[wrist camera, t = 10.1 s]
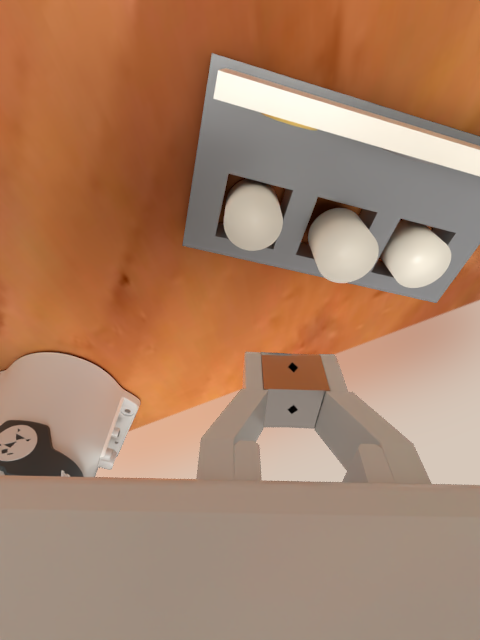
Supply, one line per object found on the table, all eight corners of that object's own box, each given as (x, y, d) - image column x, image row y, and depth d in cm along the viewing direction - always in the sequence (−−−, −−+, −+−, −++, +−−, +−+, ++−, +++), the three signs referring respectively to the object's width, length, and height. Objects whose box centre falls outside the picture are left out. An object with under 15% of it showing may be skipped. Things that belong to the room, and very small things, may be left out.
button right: (411, 269, 32) (430, 292, 28) (368, 259, 31) (383, 281, 28) (438, 226, 29) (463, 246, 26) (393, 214, 28) (412, 232, 25)
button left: (269, 235, 30) (272, 256, 26) (220, 224, 29) (218, 243, 26) (285, 185, 27) (291, 201, 24) (232, 171, 26) (230, 186, 23)
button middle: (348, 263, 29) (361, 288, 26) (300, 252, 28) (307, 276, 25) (372, 215, 26) (390, 236, 23) (320, 201, 26) (331, 221, 23)
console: (422, 286, 34) (493, 373, 24) (187, 231, 30) (162, 307, 21) (516, 148, 26) (673, 196, 17) (215, 54, 23) (195, 47, 13)
